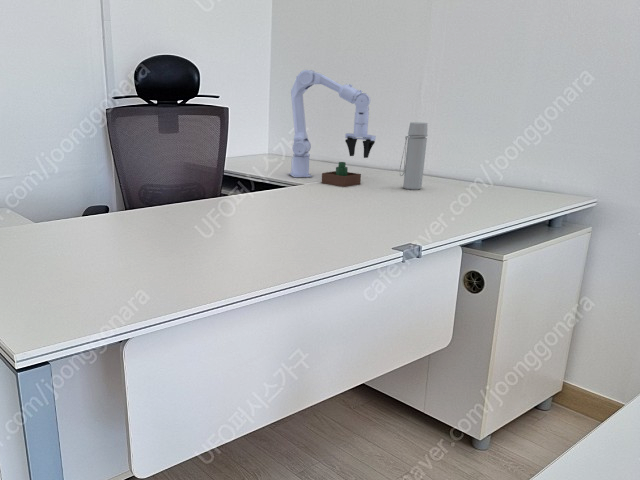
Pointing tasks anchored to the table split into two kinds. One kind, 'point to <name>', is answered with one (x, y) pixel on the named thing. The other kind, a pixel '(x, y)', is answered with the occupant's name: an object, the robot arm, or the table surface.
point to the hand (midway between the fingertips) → (358, 156)
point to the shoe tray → (341, 179)
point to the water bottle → (415, 155)
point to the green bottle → (341, 169)
